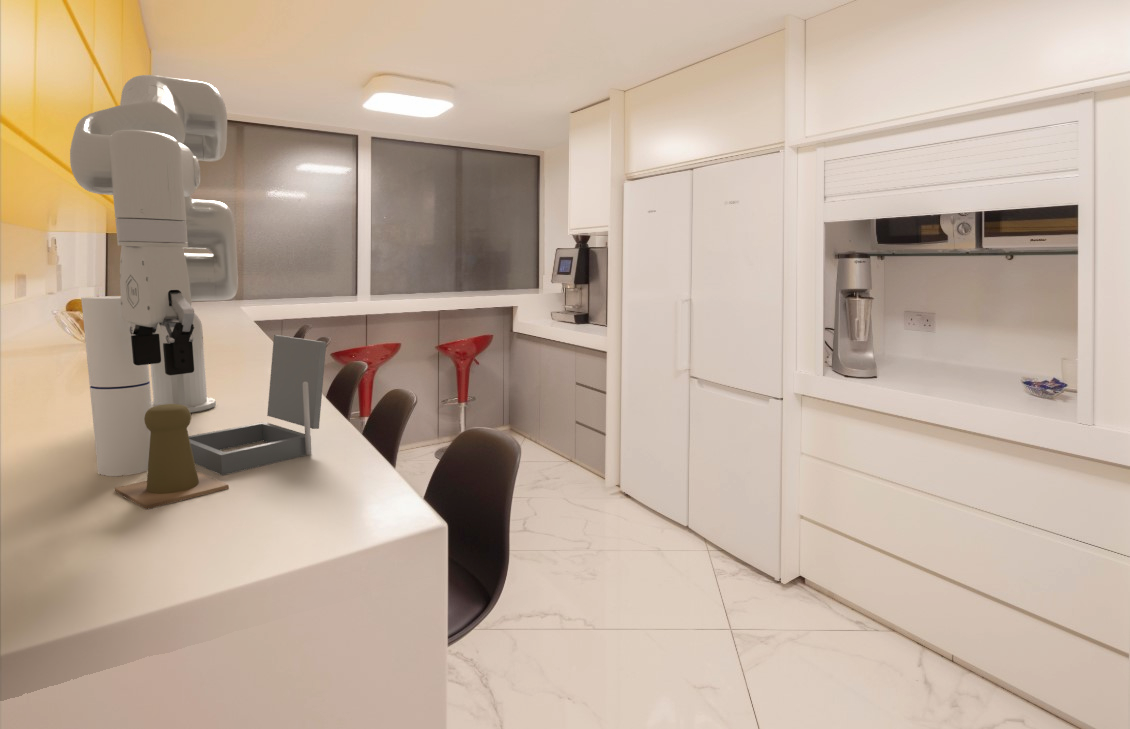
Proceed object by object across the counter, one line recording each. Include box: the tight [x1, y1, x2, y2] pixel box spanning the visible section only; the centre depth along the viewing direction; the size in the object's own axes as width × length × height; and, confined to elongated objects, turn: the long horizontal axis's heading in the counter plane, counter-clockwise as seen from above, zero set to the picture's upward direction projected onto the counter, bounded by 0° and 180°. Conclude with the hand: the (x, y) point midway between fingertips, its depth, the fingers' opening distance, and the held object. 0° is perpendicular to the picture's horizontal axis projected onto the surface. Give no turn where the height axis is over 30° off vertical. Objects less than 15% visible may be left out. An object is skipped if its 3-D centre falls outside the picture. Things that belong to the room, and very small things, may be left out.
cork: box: [144, 404, 199, 494], centre depth 85 cm, size 6×6×11 cm
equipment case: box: [188, 382, 312, 476], centre depth 101 cm, size 15×14×12 cm
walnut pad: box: [114, 470, 230, 510], centre depth 86 cm, size 10×10×1 cm
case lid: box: [266, 334, 327, 430], centre depth 107 cm, size 14×14×1 cm
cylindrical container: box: [81, 295, 153, 477], centre depth 93 cm, size 7×7×25 cm
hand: (163, 368), depth 84 cm, fingers open, 9 cm apart
